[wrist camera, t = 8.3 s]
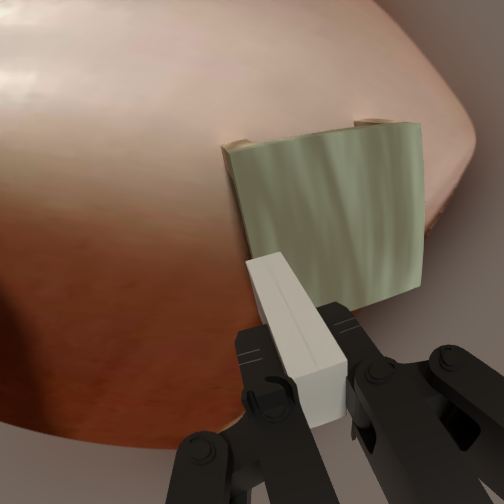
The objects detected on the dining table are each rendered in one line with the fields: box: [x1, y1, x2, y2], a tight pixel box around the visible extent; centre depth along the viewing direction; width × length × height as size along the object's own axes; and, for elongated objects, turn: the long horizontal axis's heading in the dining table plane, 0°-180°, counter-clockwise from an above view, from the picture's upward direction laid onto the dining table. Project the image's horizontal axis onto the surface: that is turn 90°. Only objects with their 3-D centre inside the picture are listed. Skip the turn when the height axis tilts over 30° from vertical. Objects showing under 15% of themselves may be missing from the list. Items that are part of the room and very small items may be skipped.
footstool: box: [221, 119, 425, 311], centre depth 19 cm, size 6×11×11 cm
